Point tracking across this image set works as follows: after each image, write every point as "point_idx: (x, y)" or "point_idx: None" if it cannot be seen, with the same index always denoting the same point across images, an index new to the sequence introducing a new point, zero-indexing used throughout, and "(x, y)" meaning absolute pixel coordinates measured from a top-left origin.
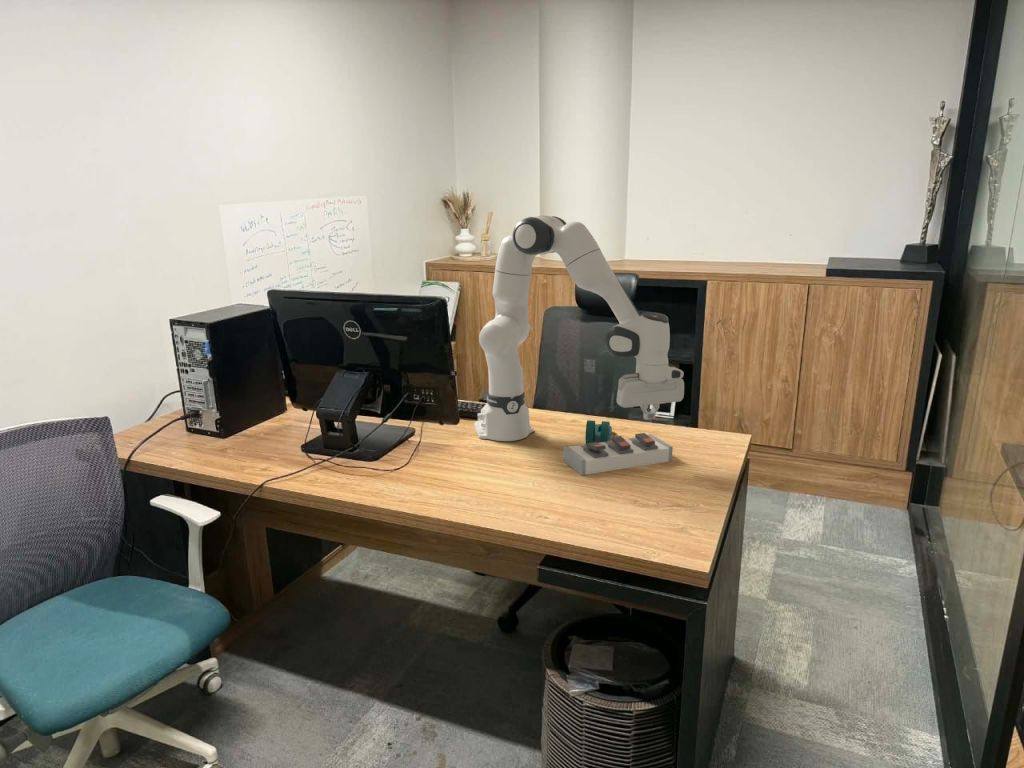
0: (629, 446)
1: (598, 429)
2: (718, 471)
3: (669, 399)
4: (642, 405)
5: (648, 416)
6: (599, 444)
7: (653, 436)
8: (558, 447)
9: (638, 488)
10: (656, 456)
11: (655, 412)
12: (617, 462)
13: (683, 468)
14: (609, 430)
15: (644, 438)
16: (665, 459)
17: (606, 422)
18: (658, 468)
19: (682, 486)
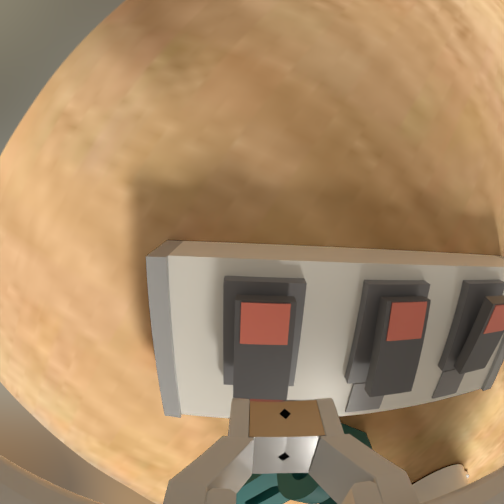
0: (390, 298)
1: (264, 496)
2: (82, 88)
3: (2, 496)
4: (472, 484)
5: (315, 416)
6: (489, 330)
7: (166, 394)
8: (413, 440)
9: (430, 81)
10: (243, 250)
11: (228, 441)
12: (427, 258)
13: (171, 150)
14: (284, 477)
15: (273, 347)
16: (196, 244)
17: (316, 495)
18: (267, 191)
19: (287, 17)
